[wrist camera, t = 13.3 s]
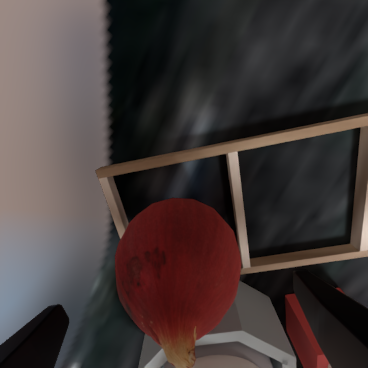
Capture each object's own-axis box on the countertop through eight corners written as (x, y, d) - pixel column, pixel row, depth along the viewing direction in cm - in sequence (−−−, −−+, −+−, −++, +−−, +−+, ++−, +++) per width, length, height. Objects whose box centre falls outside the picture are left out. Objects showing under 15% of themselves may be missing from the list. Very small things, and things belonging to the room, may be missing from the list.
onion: (139, 253, 14) (81, 417, 6) (135, 176, 12) (47, 280, 4) (220, 257, 14) (259, 425, 6) (229, 180, 12) (301, 291, 4)
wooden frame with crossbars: (477, 230, 13) (495, 237, 12) (141, 280, 15) (139, 289, 14) (528, 80, 10) (556, 77, 9) (101, 167, 12) (95, 170, 11)
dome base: (334, 346, 17) (384, 425, 13) (168, 364, 18) (162, 441, 14) (341, 257, 14) (410, 321, 9) (139, 286, 15) (120, 354, 11)
